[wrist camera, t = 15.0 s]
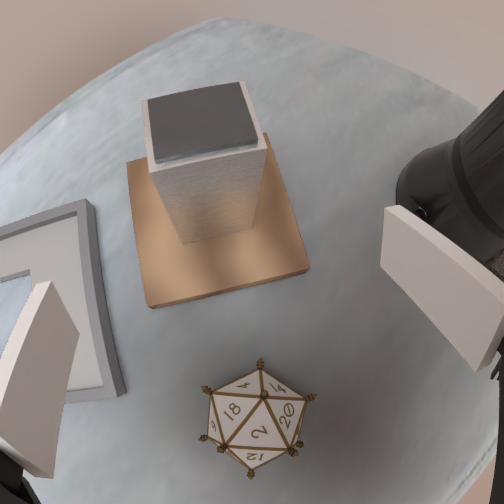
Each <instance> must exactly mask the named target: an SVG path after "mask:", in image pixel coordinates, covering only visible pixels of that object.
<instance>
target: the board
mask: <svg viewBox="0 0 504 504" xmlns="http://www.w3.org/2000/svg"><path fill="white" fill-rule="evenodd" d="M263 136H264V139H265V142H266V145H267V148H268V149H267V154H266V159H265V164H264V169H263V174H262V179H261V184H260V189H259V194H258V199H257V204H256V209H255V214H254V219H253V224H252V229H250V230H246V231H242V232H237V233H233V234H228V235H224V236H220V237H215V238H211V239H207V240H202V241H198V242H194V243H189V244H185V245H182V243H181V240H180V238H179V236H178V234H177V232H176V230H175V228H174V226H173V224H172V222H171V219H170V217H169V215H168V213H167V211H166V209H165V207H164V204H163V202H162V200H161V198H160V196H159V194H158V191H157V189H156V187H155V185H154V183H153V180H152V178H151V176H150V174H149V167H148V159H147V157H145V158H141V159H137V160H134V161H130V162H126V164H127V175H128V184H129V194H130V202H131V210H132V218H133V225H134V233H135V239H136V246H137V252H138V258H139V264H140V270H141V276H142V281H143V287H144V292H145V297H146V302H147V307H149V308H152V309H155V308H160V307H164V306H169V305H173V304H178V303H182V302H186V301H191V300H195V299H199V298H204V297H208V296H212V295H216V294H221V293H225V292H229V291H233V290H237V289H241V288H245V287H250V286H254V285H258V284H262V283H266V282H270V281H274V280H278V279H282V278H286V277H289V276H293V275H297V274H301V273H305V272H306V271H307V270H308V269H309V268H310V266H309V263H308V259H307V256H306V253H305V249H304V246H303V243H302V240H301V236H300V233H299V230H298V227H297V223H296V220H295V217H294V214H293V211H292V208H291V205H290V201H289V198H288V195H287V192H286V189H285V186H284V183H283V180H282V177H281V174H280V171H279V168H278V165H277V162H276V159H275V156H274V153H273V151H272V148H271V145H270V142H269V139H268V136H267V133H263Z"/></svg>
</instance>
